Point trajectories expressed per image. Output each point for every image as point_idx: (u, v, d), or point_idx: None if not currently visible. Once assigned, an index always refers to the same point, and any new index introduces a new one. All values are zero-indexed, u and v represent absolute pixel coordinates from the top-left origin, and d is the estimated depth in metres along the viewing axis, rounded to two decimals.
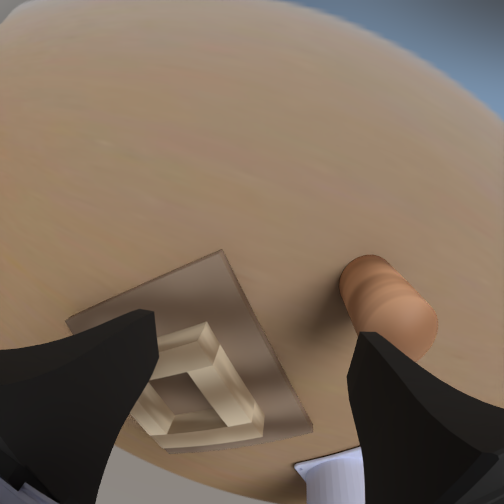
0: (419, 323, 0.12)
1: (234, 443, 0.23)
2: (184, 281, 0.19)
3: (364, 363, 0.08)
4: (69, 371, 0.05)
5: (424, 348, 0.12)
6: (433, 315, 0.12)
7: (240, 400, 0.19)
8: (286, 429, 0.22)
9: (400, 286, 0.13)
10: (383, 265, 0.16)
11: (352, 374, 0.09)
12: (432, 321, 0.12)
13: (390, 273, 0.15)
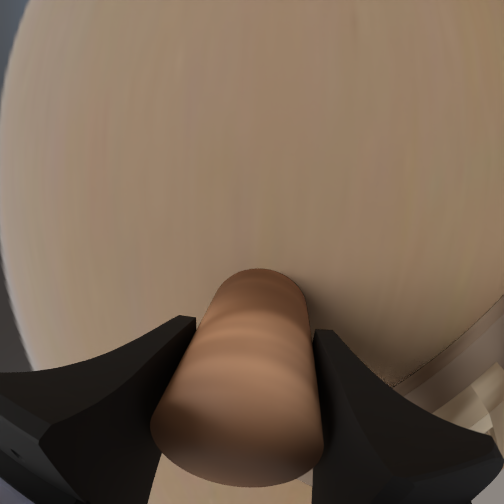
0: (191, 433, 0.05)
1: None
2: (309, 476, 0.14)
3: (316, 362, 0.08)
4: (126, 390, 0.05)
5: (247, 406, 0.05)
6: (162, 411, 0.05)
7: None
8: None
9: None
10: None
11: None
12: (175, 411, 0.05)
13: None
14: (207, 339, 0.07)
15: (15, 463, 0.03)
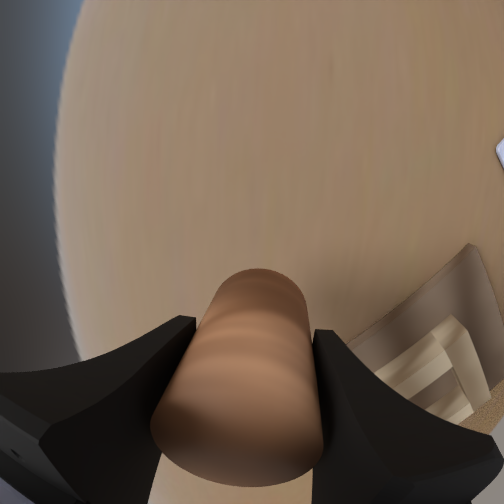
0: (191, 432, 0.05)
1: (495, 323, 0.16)
2: None
3: (316, 362, 0.08)
4: (126, 390, 0.05)
5: (247, 406, 0.05)
6: (162, 411, 0.05)
7: (416, 366, 0.16)
8: (472, 281, 0.16)
9: None
10: None
11: None
12: (175, 410, 0.05)
13: None
14: (208, 339, 0.07)
15: (15, 463, 0.03)
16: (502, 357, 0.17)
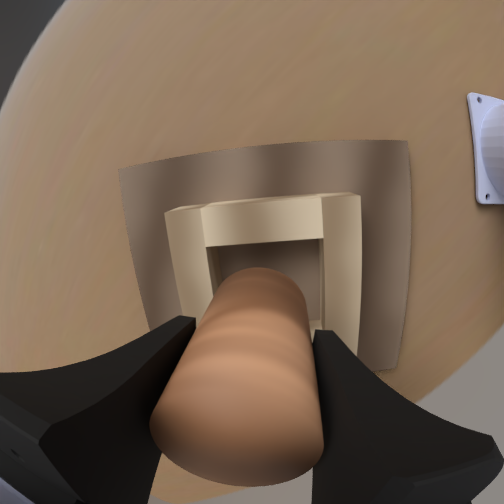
0: (190, 432, 0.05)
1: (399, 262, 0.17)
2: (134, 213, 0.18)
3: (316, 362, 0.08)
4: (126, 390, 0.05)
5: (243, 404, 0.05)
6: (160, 412, 0.05)
7: (277, 200, 0.14)
8: (389, 175, 0.15)
9: None
10: None
11: None
12: (172, 410, 0.05)
13: None
14: (204, 338, 0.07)
15: (15, 463, 0.03)
16: (390, 331, 0.18)
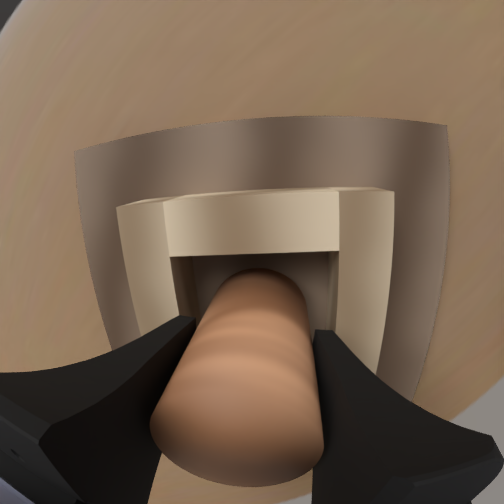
0: (190, 433, 0.05)
1: (429, 282, 0.12)
2: (90, 207, 0.13)
3: (316, 362, 0.08)
4: (126, 390, 0.05)
5: (243, 405, 0.05)
6: (161, 412, 0.05)
7: (274, 192, 0.10)
8: (425, 167, 0.11)
9: None
10: None
11: None
12: (172, 411, 0.05)
13: None
14: (205, 339, 0.07)
15: (15, 463, 0.03)
16: (409, 366, 0.14)
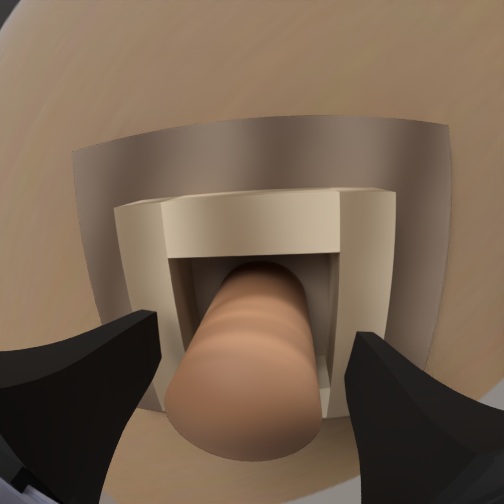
0: (202, 405, 0.06)
1: (430, 284, 0.12)
2: (88, 207, 0.13)
3: (361, 363, 0.08)
4: (72, 372, 0.05)
5: (250, 374, 0.06)
6: (175, 385, 0.06)
7: (274, 193, 0.10)
8: (426, 167, 0.11)
9: None
10: None
11: (349, 374, 0.09)
12: (187, 383, 0.06)
13: None
14: (214, 321, 0.08)
15: None
16: None
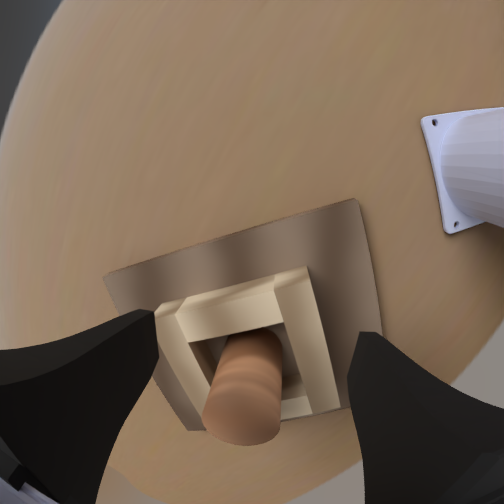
0: (220, 419, 0.13)
1: (368, 313, 0.18)
2: (126, 312, 0.20)
3: (364, 363, 0.08)
4: (69, 371, 0.05)
5: (236, 402, 0.12)
6: (205, 412, 0.13)
7: (237, 296, 0.16)
8: (344, 239, 0.17)
9: None
10: None
11: (352, 374, 0.09)
12: (210, 410, 0.13)
13: None
14: (219, 376, 0.15)
15: None
16: None
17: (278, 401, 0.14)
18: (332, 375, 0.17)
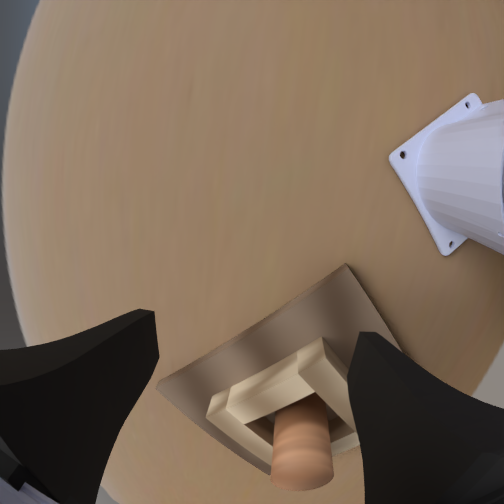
0: (285, 479, 0.14)
1: None
2: (186, 408, 0.22)
3: (364, 363, 0.08)
4: (69, 371, 0.05)
5: (292, 468, 0.14)
6: (272, 478, 0.14)
7: (270, 383, 0.18)
8: (347, 305, 0.18)
9: None
10: None
11: (352, 374, 0.09)
12: (275, 476, 0.14)
13: None
14: (275, 447, 0.16)
15: None
16: None
17: (327, 454, 0.14)
18: None
